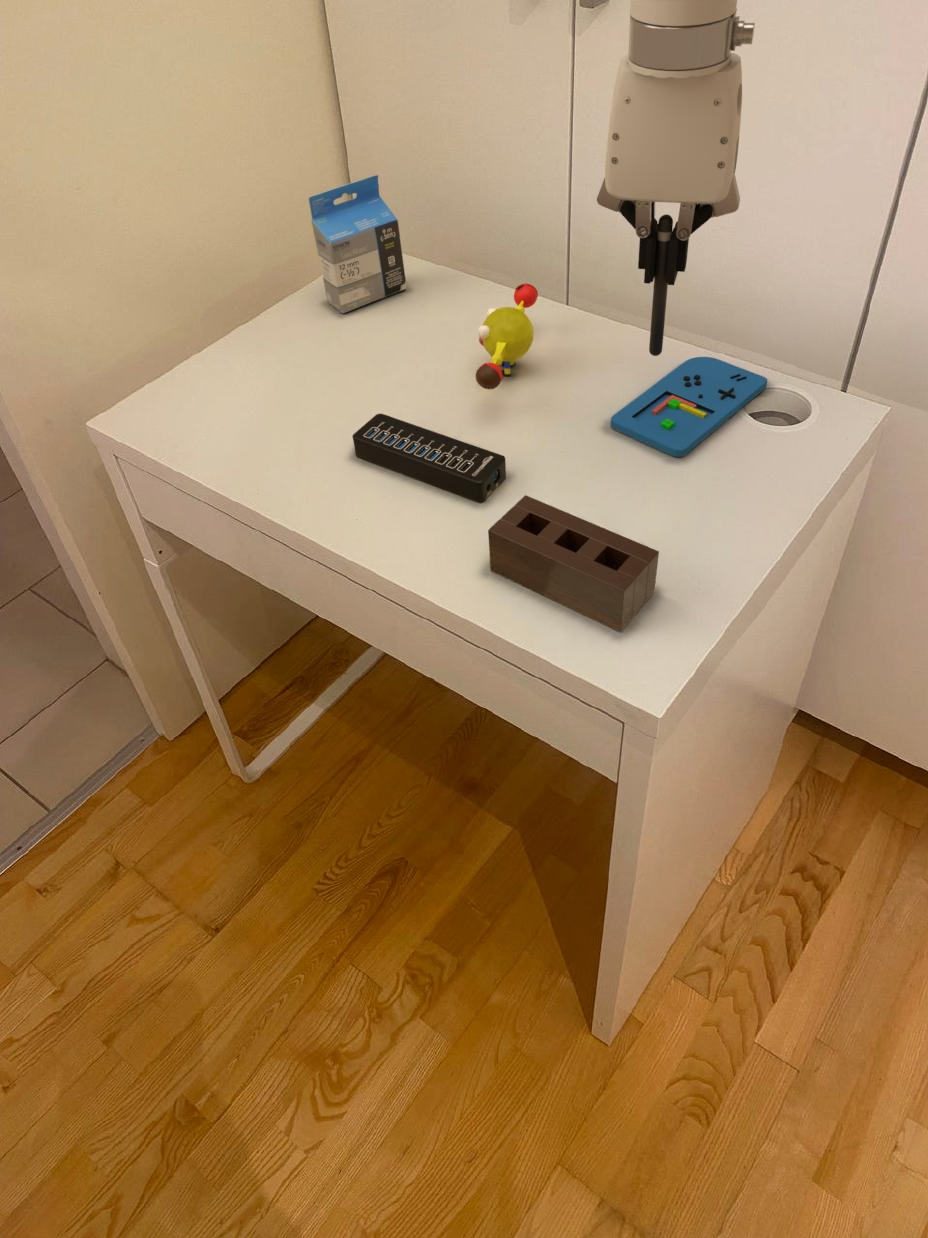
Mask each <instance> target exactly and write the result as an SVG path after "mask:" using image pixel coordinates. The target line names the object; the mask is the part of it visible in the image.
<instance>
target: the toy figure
mask: <svg viewBox="0 0 928 1238" xmlns="http://www.w3.org/2000/svg"><path fill="white" fill-rule="evenodd" d="M538 297H539V292H538V290H537V288H536V287H535V286H534V285H532V284H531V283H522V284H519V285H518V286H516V288H515V289H514V293H513V300H514V302H515V304H516V305H515V307H512V306H503V307H500V308H497V307H490V308H488V309H487V311H486V318H485V320H484V322H483V324H482V325H480V326H479V327H478V330H477V335H478V337H479V338H478V342H479V344H480V345H481V346H482V347H484V350H485V351H486V352H487V353H488V354H489V355H490V356H491V357H490V358H491V359H490V361H491V362H486V363H483V364H482V365H480V366H479V367H478V369H477V370H476V372H475V380H476V382H477V384H478V386H479V387H482V389H485V390H494V389H496V388H497V387H499V385H500V384H501V383H502V380H503V377H511V376H512V373H511V369H512V368H513V367H515V366H516V364H517V362H516V360H519V359H520V358H522V357H524V356H525V355H526V354H527V353H528V351H529V350H530V348H531V347H532V344H533V341H534V334H535V333H534V326H533V323H532V321H531V320H530V318H529V316H528V315H527V314H526V312H525V309H527V308H531V307H533V306H534V305H535V303H536V302H537V299H538ZM500 365H501V367H503V369H502V368H501V367H500Z"/></svg>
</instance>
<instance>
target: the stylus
mask: <svg viewBox="0 0 928 1238" xmlns="http://www.w3.org/2000/svg"><path fill="white" fill-rule="evenodd" d="M673 229H674V220H673V217H672V216H671V215H670V214H662V215H661V216H660V217H659V219H658V232H657V250H656V264H655V277H654V280H653V291H652V293H653V294H652V303H651V305H652V306H651V318H650V332H649V344H648V346H649V347H648V351H649V353H650V355H651V356H653V357H657V356H659V355H661V354H662V352H663V345H664V334H665V321H666V310H667V297H668V288H669V287H668V286H669V285H668V283H666V273H667V261H668V249H669V241H670V238H671V235H672V232H673Z"/></svg>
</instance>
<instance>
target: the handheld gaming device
mask: <svg viewBox="0 0 928 1238" xmlns="http://www.w3.org/2000/svg"><path fill="white" fill-rule="evenodd" d="M767 385H768V378H767V377H765V376H763V375H760V374H758V373H755V372H753V371H750V370H748V369H744V368H742V367H740V366H737V365H735V364H732V363H729V362H727V361H724V360H722V359H719V358H716V357H711V356H696V357H691V358H689V359H686V360H684V361H683V362H682V363H680V364H679V365H678V366H677V367H675V368H674V369H673V370H671V371H670V372H668V374H666V375H665V376H663V377H662V378H661V379H659V380H658V381H657V382H655V383H654V384H652V386H650V387H648V389H646V390H645V391H643V392H642V393H641V394H640V395H638V396H637V397H636V398H634V399H633V400H631V401H630V402H629V403H627V404H626V405H625V406H624V407H622V408H621V409H620V410H618V411H617V412H615V413H614V414H613V415H612V416H611V417H610V427H611V428H612V429H614V430H615V431H618V432H620V433H622V434H624V435H626V436H628V437H631V438H633V439H635V440H637V441H640V442H642V443H643V444H646V445H648V446H650V447H653V448H655V449H657V450H660V451H662V452H664V453H666V454H668V455H670V456H672V457H676V458H681V457H684V456H686V455H687V454H689V453H690V452H691V451H692V450H694V448H695V447H697V446H698V445H700V444H701V443H702V442H703V441H704V440H705V439H706V438H707V437H709V436H710V435H711V434H712V433H714V432H715V431H716V430H717V429H718V428H719V427H721V426H722V425H723V424H725V422H727V421H728V420H729V419H730V418H732V416H734V415H735V414H736V413H737V412H739V411H740V410H741V409H742V408H743V407H744V406H746V405H747V404H749V402H751V401H752V400H753V399H755V397H757V396H759V394H760V393H762V392H763V391H764V390H765V389H766V388H767Z"/></svg>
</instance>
